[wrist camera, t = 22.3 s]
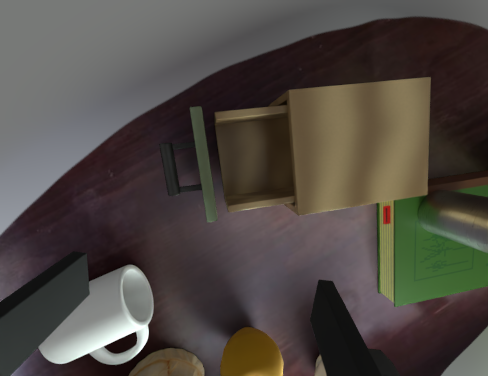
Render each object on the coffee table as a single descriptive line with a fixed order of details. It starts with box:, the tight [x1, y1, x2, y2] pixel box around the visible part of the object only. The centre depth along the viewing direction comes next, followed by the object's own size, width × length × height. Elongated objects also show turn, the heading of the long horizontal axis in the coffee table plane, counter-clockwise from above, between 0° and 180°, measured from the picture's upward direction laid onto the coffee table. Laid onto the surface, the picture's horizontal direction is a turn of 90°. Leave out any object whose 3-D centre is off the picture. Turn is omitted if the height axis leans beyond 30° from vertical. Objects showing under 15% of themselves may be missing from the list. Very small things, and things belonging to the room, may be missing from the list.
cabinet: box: [268, 77, 431, 215], centre depth 30 cm, size 17×14×9 cm
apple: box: [220, 327, 283, 376], centre depth 33 cm, size 9×9×9 cm
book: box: [377, 170, 488, 307], centre depth 38 cm, size 25×19×4 cm
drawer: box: [159, 105, 295, 222], centre depth 28 cm, size 20×12×7 cm, turn 97°
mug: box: [38, 265, 154, 365], centre depth 30 cm, size 12×10×8 cm
